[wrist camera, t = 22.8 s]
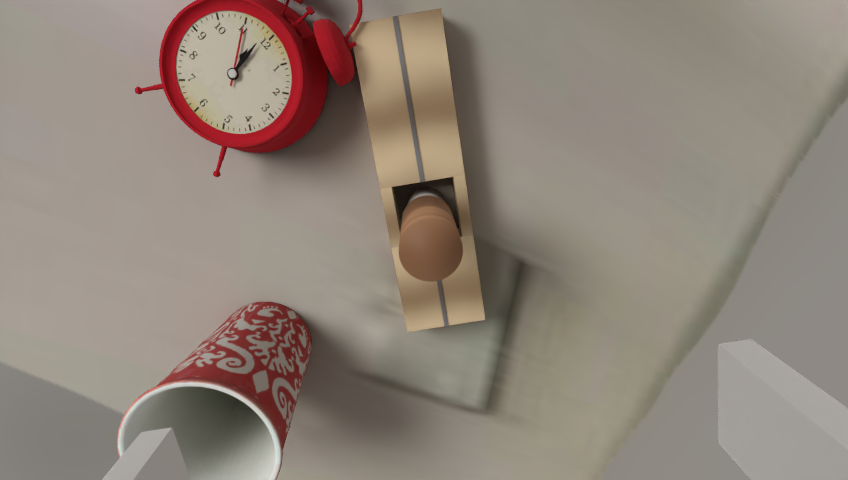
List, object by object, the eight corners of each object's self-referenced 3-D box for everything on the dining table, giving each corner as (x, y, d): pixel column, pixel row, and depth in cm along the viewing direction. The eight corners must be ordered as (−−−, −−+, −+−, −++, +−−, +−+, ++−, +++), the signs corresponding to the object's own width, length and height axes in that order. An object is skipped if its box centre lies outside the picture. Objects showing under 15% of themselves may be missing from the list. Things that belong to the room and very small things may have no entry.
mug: (256, 266, 39) (176, 351, 26) (346, 335, 41) (313, 447, 28) (165, 373, 41) (50, 500, 28) (254, 434, 43) (183, 580, 30)
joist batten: (353, 29, 34) (348, 24, 32) (439, 14, 34) (441, 8, 31) (408, 317, 40) (407, 332, 38) (481, 306, 40) (485, 320, 37)
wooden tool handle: (399, 187, 37) (392, 226, 26) (443, 179, 37) (457, 214, 26) (407, 230, 38) (405, 286, 27) (451, 222, 38) (467, 275, 26)
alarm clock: (106, 76, 31) (243, -122, 25) (171, 66, 37) (297, -98, 31) (224, 200, 33) (379, 45, 27) (269, 173, 39) (406, 39, 33)
